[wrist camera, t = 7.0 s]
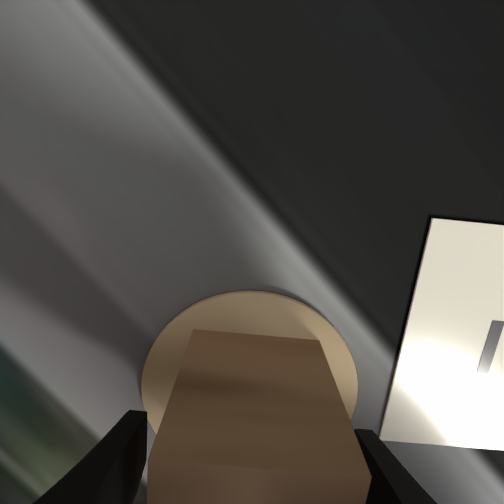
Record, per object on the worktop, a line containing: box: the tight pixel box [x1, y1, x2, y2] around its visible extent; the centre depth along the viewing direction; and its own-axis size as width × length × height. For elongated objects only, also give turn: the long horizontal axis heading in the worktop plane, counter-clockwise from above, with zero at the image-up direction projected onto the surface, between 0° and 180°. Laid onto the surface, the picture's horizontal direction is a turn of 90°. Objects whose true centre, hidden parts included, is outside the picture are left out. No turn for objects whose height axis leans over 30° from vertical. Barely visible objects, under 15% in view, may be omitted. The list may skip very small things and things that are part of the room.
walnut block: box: [147, 329, 372, 504], centre depth 11 cm, size 5×5×6 cm
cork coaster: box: [141, 290, 358, 435], centre depth 14 cm, size 9×9×1 cm
